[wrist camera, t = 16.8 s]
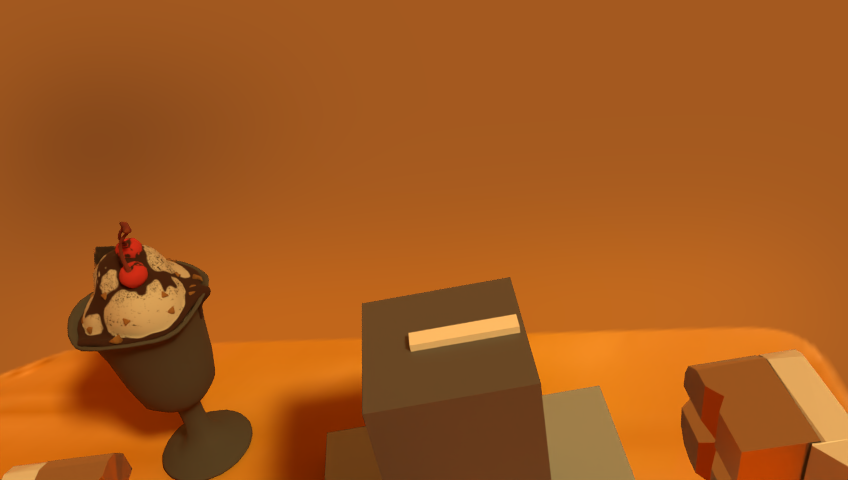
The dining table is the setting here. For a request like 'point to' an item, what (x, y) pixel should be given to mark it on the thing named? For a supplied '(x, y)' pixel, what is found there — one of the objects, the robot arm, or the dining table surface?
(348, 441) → the post
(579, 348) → the dining table surface
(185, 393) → the sundae
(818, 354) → the dining table surface
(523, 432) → the slotted ballot box
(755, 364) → the robot arm
